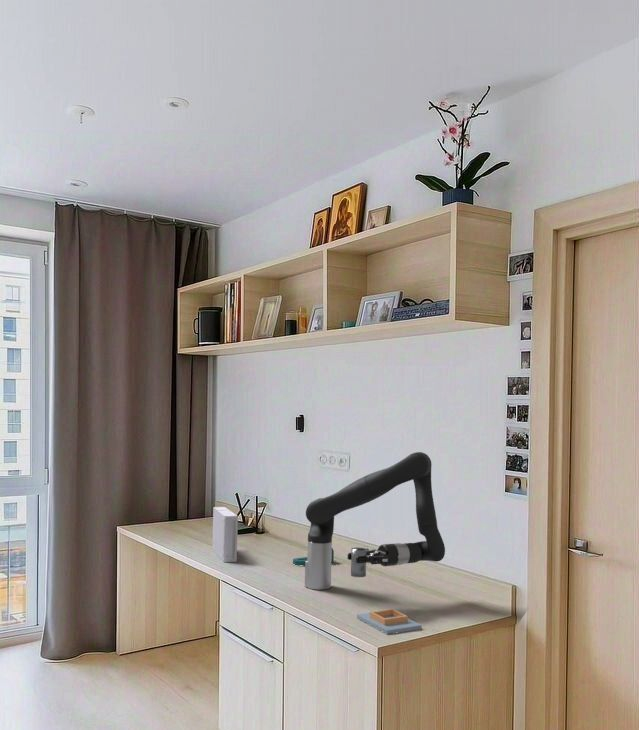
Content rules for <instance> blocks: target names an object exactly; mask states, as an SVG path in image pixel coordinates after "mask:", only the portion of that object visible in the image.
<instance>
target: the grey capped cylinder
mask: <svg viewBox="0 0 639 730" xmlns="http://www.w3.org/2000/svg"><path fill="white" fill-rule="evenodd" d="M350 549H351V552H350V553H351V560H350V576H351V577H353V578H364V577H367V563H356V557H357V556H366V553H367V549H368V548H366V547H357V546H355V547H352V548H350Z"/></svg>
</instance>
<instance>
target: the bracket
mask: <svg viewBox="0 0 639 730" xmlns="http://www.w3.org/2000/svg"><path fill="white" fill-rule="evenodd" d="M334 552H335V551H334V549H333V547H332V559H331V562H334V558H335V557H334V556H335V555H334ZM307 558H308V556H303V557H296V558H292V565H293V564H295V565H305V562H306V561H307ZM295 565H294V566H295Z"/></svg>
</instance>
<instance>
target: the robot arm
mask: <svg viewBox="0 0 639 730" xmlns="http://www.w3.org/2000/svg"><path fill="white" fill-rule="evenodd" d="M432 465H433V464H432V460H431V458H430V457H429V455H428V454H427V453H425V452H423V451H418V452H413V453H410V454H409V455H407V456H406V457H405V458H403V459H401V460H400V461H397V462H396V463H394V464H392V465H391V466H389V467H387V468H383V469H381V470H380V469H379V470H377V471H374V472H372V473H368V474H366V475H364V476H362V477H360V478H358V479H357V480H355V481H353V482H351V483H350V484H348V485H346V486H344V487H343V488H341V489H340V490H338V491H337V492H335V493H333V494H331V495H329V496H325V497H321V498H320V497H319V498H318V499H315V500H313V501H311V502H310V503H309V504H308V505H307V506H306V510H305V517H306V519H307V521H309V523H310V529H309V531H308V535H307V557H308V558H307V561H306V562H305V566H304V588H305V587H306V588H308V589H311V590H318V591H319V590H322V591H323V590H327V589H331V588H332V563H331V559H332V548H333V547H332V546H333V544H332V543H333V535H334V527H335V516H337V515H339V514H341V513H342V512H345V511H347V510H350V509H354V508H357V507H360V506H362V505H365V504H367V503H370V502H372V501H374V500H376V499H378V498H380V497H382V496H384V495H385V494H387V493H389V492H390V491H392V490H393V489H395V488H396V487H397V486H399V485H401V484H405V483H407V482H409V481H410V482H411V481H413V484H414V490H415V512H416V513H415V515H416V522H417V527H418V528H417V529H418V532H419V534H420V535H422V536H423V537H424V538H425V540H422V541H416V542H407V543H405V542H404V543H403V542H402V543H401V542H399V543H398V542H397V543H395V542H394V543H385V544H381V545H379V546H378V548H377V549H369V548H366V549H367V553H366V556H357V557H356V563H366V564H370V565H372V566H373V565H381V566H383V567H393V566H402V565H406V564H414V563H418V562H421V561H422V562H423V561H428V562H436V563H437V562H441V561H442V560H443V559H444V558H445V554H446V547H445V542H444V540H443V538H442V534H441V533H440V530H439V528H438V520H437V515H436V509H435V502H434V497H433V489H432ZM347 560H349V561H351V552H349V553H347Z"/></svg>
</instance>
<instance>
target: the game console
mask: <svg viewBox="0 0 639 730" xmlns="http://www.w3.org/2000/svg"><path fill="white" fill-rule="evenodd" d="M212 510H213V511H212V512H213V513H212V519H213V520H212V544H211V545H212V551H213V552H214V554H216V556H217V557H218V558H219V559H220V560H221V561H222V562H223V563H237V561H238V527H239V524H238V523H239V521H238V520H239V516H238V515H237V514H236V513H234V512H232V511H231V510H230V509H228V508H227V507H226V506H214V507H213V509H212Z"/></svg>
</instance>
